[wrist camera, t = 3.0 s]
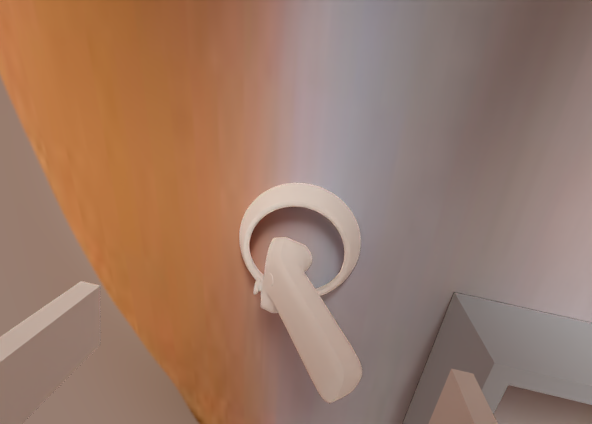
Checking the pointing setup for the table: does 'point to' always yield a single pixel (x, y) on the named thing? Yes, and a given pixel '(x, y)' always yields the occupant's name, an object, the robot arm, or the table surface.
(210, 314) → the table surface
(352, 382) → the white ring with handle
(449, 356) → the well
